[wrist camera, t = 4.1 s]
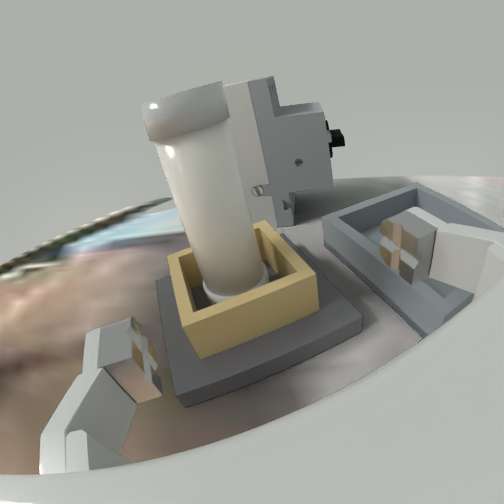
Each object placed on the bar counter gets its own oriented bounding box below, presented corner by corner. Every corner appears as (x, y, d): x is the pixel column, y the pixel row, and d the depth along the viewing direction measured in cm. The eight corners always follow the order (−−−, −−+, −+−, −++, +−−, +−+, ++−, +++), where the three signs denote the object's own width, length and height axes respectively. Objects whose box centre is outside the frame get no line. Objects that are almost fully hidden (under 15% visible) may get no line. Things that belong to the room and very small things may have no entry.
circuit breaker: (352, 220, 30) (336, 69, 21) (218, 233, 33) (179, 98, 25) (344, 190, 36) (328, 69, 27) (232, 203, 39) (203, 90, 31)
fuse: (219, 329, 19) (137, 106, 11) (205, 291, 23) (140, 105, 15) (282, 304, 20) (231, 78, 12) (259, 270, 23) (211, 83, 16)
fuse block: (185, 407, 16) (152, 366, 14) (162, 294, 26) (142, 252, 24) (361, 331, 18) (364, 278, 16) (285, 247, 28) (277, 203, 26)
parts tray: (433, 348, 15) (444, 316, 14) (324, 245, 27) (321, 216, 25) (518, 273, 18) (527, 243, 16) (415, 208, 29) (416, 182, 27)
